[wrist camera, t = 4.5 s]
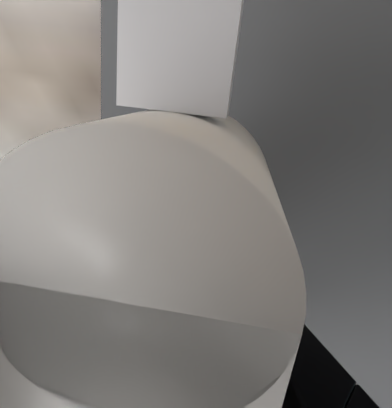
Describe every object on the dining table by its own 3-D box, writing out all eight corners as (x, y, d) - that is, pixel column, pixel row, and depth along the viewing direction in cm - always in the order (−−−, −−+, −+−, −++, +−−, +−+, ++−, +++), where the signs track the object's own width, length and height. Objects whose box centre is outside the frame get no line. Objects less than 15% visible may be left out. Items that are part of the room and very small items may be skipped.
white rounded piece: (230, 394, 11) (222, 620, 6) (107, 370, 11) (14, 566, 7) (307, 0, 7) (448, -193, 2) (110, -17, 7) (-124, -211, 3)
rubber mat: (494, 449, 16) (504, 462, 15) (105, 372, 17) (101, 382, 17) (943, -241, 7) (1002, -268, 7) (109, -253, 9) (101, -276, 9)
